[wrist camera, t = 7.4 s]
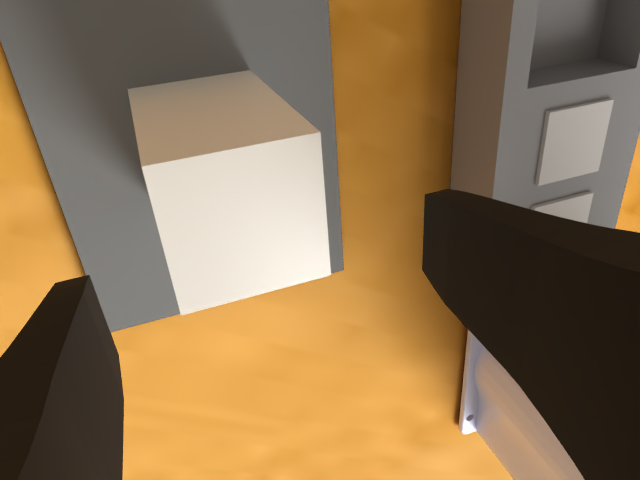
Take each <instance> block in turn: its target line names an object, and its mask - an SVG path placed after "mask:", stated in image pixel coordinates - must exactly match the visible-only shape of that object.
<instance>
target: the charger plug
mask: <svg viewBox="0 0 640 480" xmlns="http://www.w3.org/2000/svg"><path fill="white" fill-rule="evenodd" d="M128 95H129V101H130V106H131V112H132V117H133V123H134V128H135V134H136V139H137V145H138V150H139V156H140V162H141V167H142V171H143V175H144V178H145V182H146V186H147V190H148V193H149V197H150V201H151V205H152V208H153V212H154V216H155V220H156V223H157V227H158V231H159V235H160V238H161V242H162V246H163V250H164V253H165V257H166V261H167V265H168V268H169V272H170V276H171V280H172V284H173V287H174V291H175V295H176V299H177V302H178V306H179V310H180V314H181V315H185V314H189V313H192V312H196V311H200V310H204V309H207V308H211V307H215V306H219V305H222V304H226V303H230V302H233V301H237V300H241V299H245V298H248V297H252V296H256V295H259V294H263V293H267V292H271V291H274V290H278V289H282V288H285V287H289V286H293V285H297V284H300V283H304V282H308V281H311V280H315V279H319V278H323V277H326V276H330V275H331V267H330V254H329V240H328V227H327V213H326V200H325V186H324V173H323V159H322V146H321V132H320V131H319V130H318V129H316V128H315V127H314V126H313V125H312V124H311V123H310V122H308V121H307V120H306V119H305V118H304V117H303V116H302V115H300V114H299V113H298V112H297V111H296V110H295V109H294V108H292V107H291V106H290V105H289V104H288V103H287V102H286V101H284V100H283V99H282V98H281V97H280V96H279V95H278V94H277V93H275V92H274V91H273V90H272V89H271V88H270V87H269V86H267V85H266V84H265V83H264V82H263V81H262V80H261V79H259V78H258V77H257V76H256V75H255V74H254V73H253V72H251V71H250V70H247V71H241V72H234V73H228V74H221V75H215V76H208V77H202V78H196V79H189V80H183V81H176V82H170V83H163V84H157V85H151V86H144V87H138V88H131V89H128Z"/></svg>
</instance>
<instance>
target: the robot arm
mask: <svg viewBox="0 0 640 480" xmlns="http://www.w3.org/2000/svg"><path fill="white" fill-rule="evenodd" d="M422 270H423V272H424V273H425V275H426V276H427V278H428V279H429V281H430V283H431V284H432V286H433V287H434V289H435V290H436V292H437V293H438V294H439V296H440V297H441V299H442V300H443V302H444V303H445V304H446V305H447V306H448V308H449V309H450V310H451V311H452V312H453V313H454V314H455V315H456V316H457V318H458V319H459V320H460V321H461V322H462V323H463V324H464V325H465V326H466V328H467V329H468V335H467V345H466V355H465V366H464V376H463V387H462V397H461V407H460V418H459V430H460V431H461V433H462V434H469V433H472V432H474V431H477V432H478V433H479V435H480V436H481V437H482V438H483V440H484V441H485V442H486V444H487V445H488V446H489V448H490V449H491V450H492V452H493V453H494V454H495V456H496V457H497V458H498V459H499V461H500V462H501V463H502V465H503V466H504V467H505V469H506V470H507V471H508V473H509V474H510V475H511V476H512V478H513V479H514V480H640V233H637V232H631V231H625V230H619V229H613V228H608V227H602V226H597V225H592V224H588V223H584V222H579V221H575V220H571V219H566V218H562V217H558V216H554V215H550V214H546V213H542V212H539V211H535V210H531V209H528V208H524V207H520V206H517V205H513V204H510V203H506V202H502V201H499V200H495V199H492V198H488V197H484V196H481V195H477V194H473V193H469V192H464V191H459V190H453V189H446V190H442V191H438V192H434V193H429V194H425V206H424V236H423V266H422ZM123 420H124V397H123V387H122V378H121V370H120V362H119V355H118V352H117V349H116V347H115V344H114V341H113V338H112V336H111V333H110V330H109V327H108V325H107V322H106V319H105V316H104V314H103V311H102V308H101V305H100V303H99V300H98V297H97V294H96V292H95V289H94V286H93V283H92V281H91V278H90V275H87V276H82V277H78V278H74V279H70V280H66V281H62V282H57V283H55V284H54V286H53V287H52V288H51V290H50V291H49V292H48V294H47V295H46V297H45V298H44V299H43V301H42V302H41V303H40V305H39V306H38V308H37V309H36V311H35V312H34V313H33V315H32V316H31V318H30V319H29V320H28V322H27V323H26V325H25V326H24V327H23V329H22V330H21V331H20V333H19V334H18V335H17V337H16V338H15V339H14V341H13V342H12V343H11V345H10V346H9V347H8V349H7V350H6V351H5V353H4V354H3V355H2V356H1V357H0V480H122V468H123Z"/></svg>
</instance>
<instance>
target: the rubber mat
mask: <svg viewBox="0 0 640 480" xmlns="http://www.w3.org/2000/svg"><path fill="white" fill-rule="evenodd" d="M0 41H1V44H2V47H3V50H4V52H5V55H6V58H7V61H8V63H9V66H10V69H11V71H12V74H13V77H14V80H15V82H16V85H17V88H18V91H19V93H20V96H21V99H22V102H23V104H24V107H25V110H26V112H27V115H28V118H29V121H30V123H31V126H32V129H33V132H34V134H35V137H36V140H37V142H38V145H39V148H40V151H41V153H42V156H43V159H44V162H45V164H46V167H47V170H48V173H49V175H50V178H51V181H52V183H53V186H54V189H55V192H56V194H57V197H58V200H59V203H60V205H61V208H62V211H63V213H64V216H65V219H66V222H67V224H68V227H69V230H70V233H71V235H72V238H73V241H74V244H75V246H76V249H77V252H78V254H79V257H80V260H81V263H82V265H83V268H84V271H85V274H86V276H87V275H90V278H91V281H92V283H93V286H94V289H95V292H96V294H97V297H98V300H99V303H100V305H101V308H102V311H103V314H104V316H105V319H106V322H107V325H108V327H109V330H110V332H114V331H118V330H122V329H125V328H129V327H133V326H137V325H140V324H144V323H148V322H151V321H155V320H159V319H163V318H166V317H170V316H174V315H178V314H180V310H179V306H178V302H177V299H176V295H175V291H174V287H173V284H172V280H171V276H170V272H169V268H168V265H167V261H166V257H165V253H164V250H163V246H162V242H161V238H160V235H159V231H158V227H157V223H156V220H155V216H154V212H153V208H152V205H151V201H150V197H149V193H148V190H147V186H146V182H145V178H144V175H143V171H142V167H141V162H140V156H139V150H138V145H137V139H136V134H135V128H134V123H133V117H132V112H131V106H130V101H129V95H128V89H131V88H138V87H144V86H151V85H157V84H163V83H170V82H176V81H183V80H189V79H196V78H202V77H208V76H215V75H221V74H228V73H234V72H241V71H247V70H250V71H251V72H253V73H254V74H255V75H256V76H257V77H258V78H259V79H261V80H262V81H263V82H264V83H265V84H266V85H267V86H269V87H270V88H271V89H272V90H273V91H274V92H275V93H277V94H278V95H279V96H280V97H281V98H282V99H283V100H284V101H286V102H287V103H288V104H289V105H290V106H291V107H292V108H294V109H295V110H296V111H297V112H298V113H299V114H300V115H302V116H303V117H304V118H305V119H306V120H307V121H308V122H310V123H311V124H312V125H313V126H314V127H315V128H316V129H318V130H319V131H320V132H321V146H322V159H323V173H324V186H325V200H326V213H327V227H328V240H329V254H330V267H331V273H334V272H338V271H342V270H344V264H343V247H342V229H341V212H340V195H339V178H338V160H337V143H336V126H335V109H334V92H333V74H332V57H331V40H330V23H329V5H328V0H0Z"/></svg>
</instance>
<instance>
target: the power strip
mask: <svg viewBox="0 0 640 480" xmlns="http://www.w3.org/2000/svg"><path fill="white" fill-rule="evenodd" d="M639 131H640V0H462V5H461V21H460V37H459V53H458V69H457V85H456V101H455V118H454V134H453V150H452V166H451V182H450V189H453V190H459V191H464V192H469V193H473V194H477V195H481V196H484V197H488V198H492V199H495V200H499V201H502V202H506V203H510V204H513V205H517V206H520V207H524V208H528V209H531V210H535V211H539V212H542V213H546V214H550V215H554V216H558V217H562V218H566V219H571V220H575V221H579V222H584V223H588V224H592V225H597V226H602V227H608V228H613V229H615V227H616V223H617V219H618V215H619V211H620V207H621V203H622V199H623V195H624V191H625V187H626V183H627V179H628V175H629V171H630V167H631V163H632V159H633V155H634V151H635V147H636V143H637V139H638V135H639Z"/></svg>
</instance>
